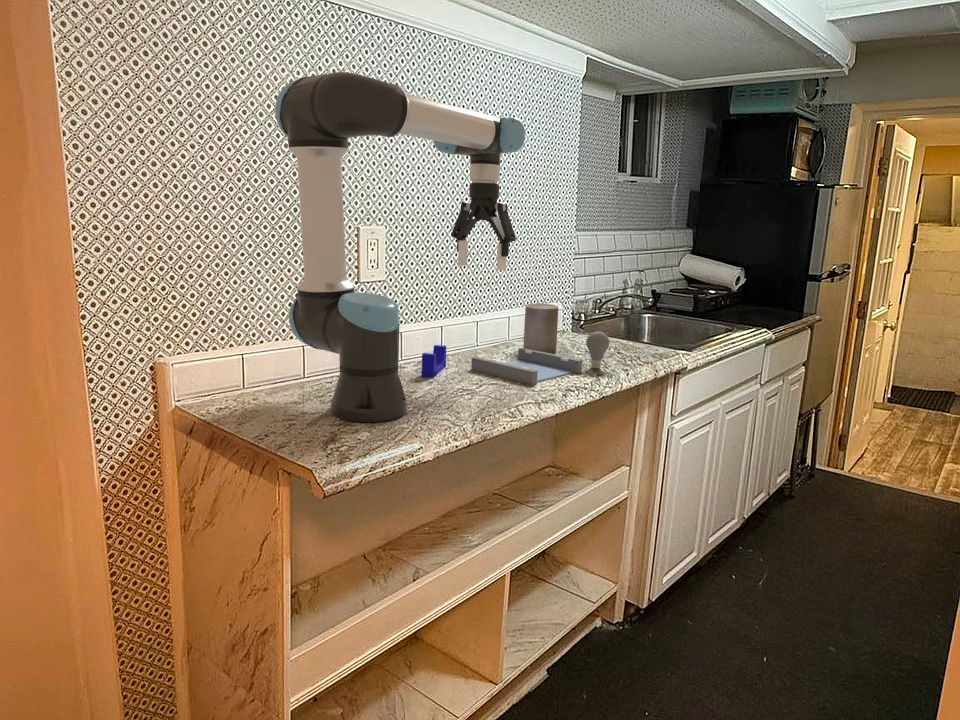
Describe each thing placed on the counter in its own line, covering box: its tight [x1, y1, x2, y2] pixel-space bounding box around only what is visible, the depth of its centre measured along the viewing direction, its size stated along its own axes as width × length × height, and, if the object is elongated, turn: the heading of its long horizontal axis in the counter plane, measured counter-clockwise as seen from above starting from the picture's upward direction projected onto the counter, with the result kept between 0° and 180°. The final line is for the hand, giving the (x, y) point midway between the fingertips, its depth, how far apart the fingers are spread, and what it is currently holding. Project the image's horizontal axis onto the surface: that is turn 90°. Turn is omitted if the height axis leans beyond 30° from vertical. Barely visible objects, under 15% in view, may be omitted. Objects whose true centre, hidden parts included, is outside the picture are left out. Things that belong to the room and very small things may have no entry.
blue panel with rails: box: [470, 347, 583, 386], centre depth 176 cm, size 21×20×3 cm
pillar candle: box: [522, 301, 559, 354], centre depth 199 cm, size 10×10×15 cm
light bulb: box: [585, 330, 610, 370], centre depth 181 cm, size 6×6×10 cm
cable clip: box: [421, 344, 447, 379], centre depth 171 cm, size 12×4×6 cm, turn 168°
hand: (481, 267), depth 176 cm, fingers open, 13 cm apart
